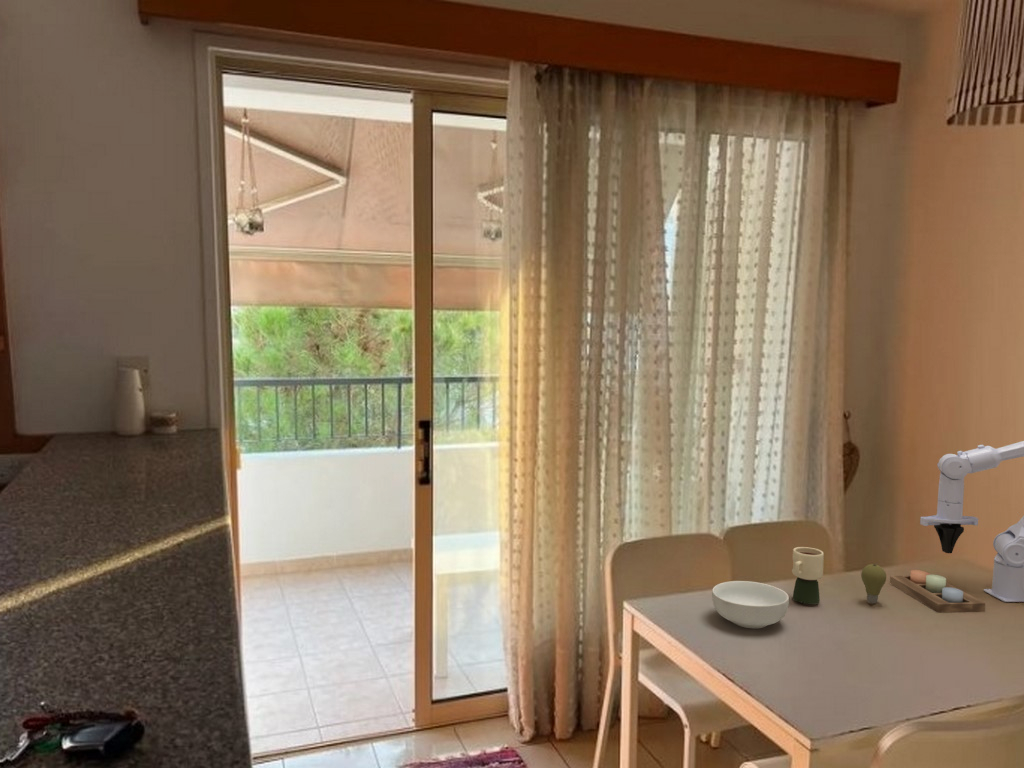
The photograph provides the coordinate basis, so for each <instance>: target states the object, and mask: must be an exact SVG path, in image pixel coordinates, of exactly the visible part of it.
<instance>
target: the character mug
mask: <svg viewBox="0 0 1024 768" xmlns="http://www.w3.org/2000/svg"><path fill="white" fill-rule="evenodd" d="M824 553H825V552H824V551H823V550H821V549H819V548H814V547H806V546H797V547H794V548H793V549H792V556H791V557H792V562H793V565H792V569H791V573H792V574H793V575H794V576H795V577H796V579H795V582H794V588H793V593H792V600H793V601H794V602H799V603H801V604H802V605H803V604H809V605H817V604H820V598H821V597H820V588H819V581H818V580H821V579H823V576H824V560H825V559H824V557H825V555H824Z"/></svg>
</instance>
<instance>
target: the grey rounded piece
mask: <svg viewBox="0 0 1024 768" xmlns="http://www.w3.org/2000/svg"><path fill="white" fill-rule="evenodd" d="M956 588H957V587H956ZM956 588H950V587H945V588H943V589H942V599H943V600H945V601H947V602H948V603H963V592H964V591H963V590H961V589H960V588H958V589H956ZM959 589H960V590H959Z"/></svg>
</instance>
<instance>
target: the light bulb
mask: <svg viewBox="0 0 1024 768" xmlns="http://www.w3.org/2000/svg"><path fill="white" fill-rule="evenodd" d="M860 575H861V580H862V582H863V585H864V588H865V592H866V601H867V602H868V603H869V605H872V606H874V605H875V604H876V603H878V602H879V601H878V599H879V598H878V597H879V595H880V593H881V590H882V588H883V587H884V585H885V583H886V581H887V573H886V571H885V569H884V568H883V567H882V566H880V565H878V564H877V563H876V564H875V563H870V564H867V565H865V566H864V567H863V568H862V569H861V573H860Z"/></svg>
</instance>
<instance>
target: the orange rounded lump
mask: <svg viewBox="0 0 1024 768" xmlns="http://www.w3.org/2000/svg"><path fill="white" fill-rule="evenodd" d="M927 575H931V573H930V572H928V571H925V570H921V569H920V570H919V569H912V570H910V575H909V576H910V581H912V582H914V583H915V584H926V576H927Z"/></svg>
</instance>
